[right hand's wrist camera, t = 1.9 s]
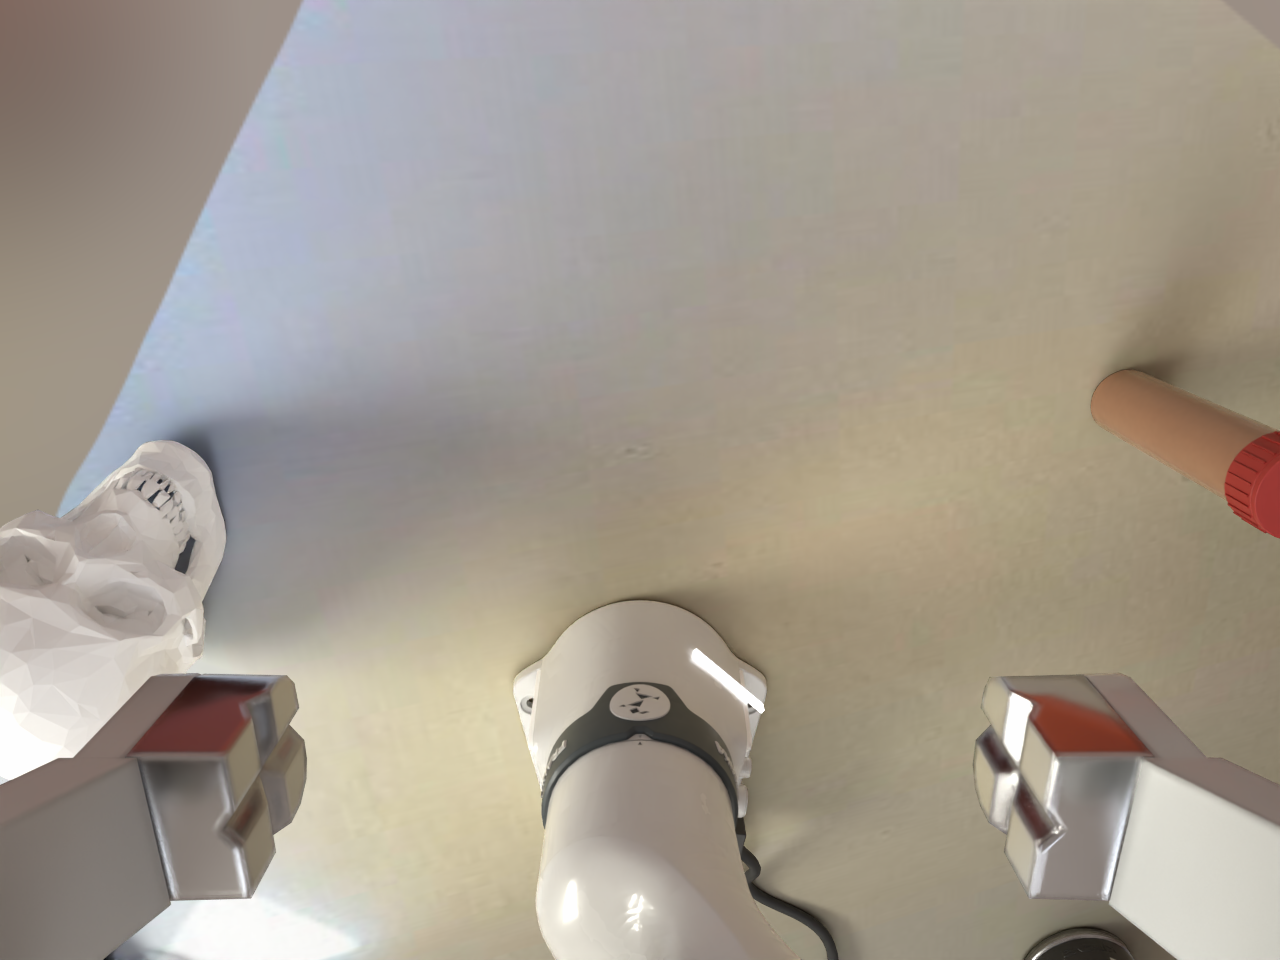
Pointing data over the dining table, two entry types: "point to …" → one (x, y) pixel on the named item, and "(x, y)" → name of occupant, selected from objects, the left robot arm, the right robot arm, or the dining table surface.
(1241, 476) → the lid
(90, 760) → the right robot arm
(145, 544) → the skull
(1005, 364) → the dining table surface
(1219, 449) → the jar
